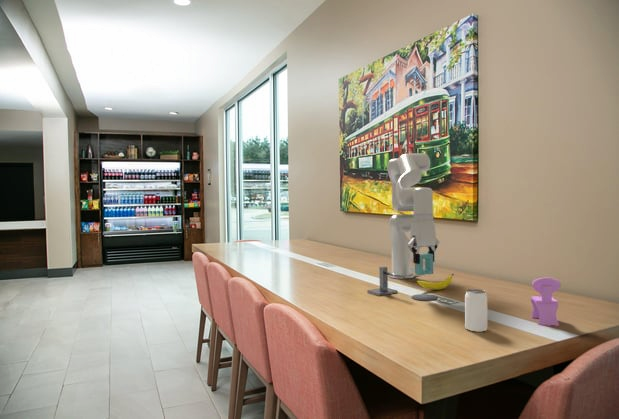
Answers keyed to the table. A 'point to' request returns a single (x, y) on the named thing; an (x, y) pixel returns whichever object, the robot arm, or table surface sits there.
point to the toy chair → (545, 301)
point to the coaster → (424, 297)
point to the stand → (384, 283)
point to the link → (428, 264)
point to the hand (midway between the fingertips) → (423, 262)
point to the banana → (436, 284)
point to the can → (476, 310)
